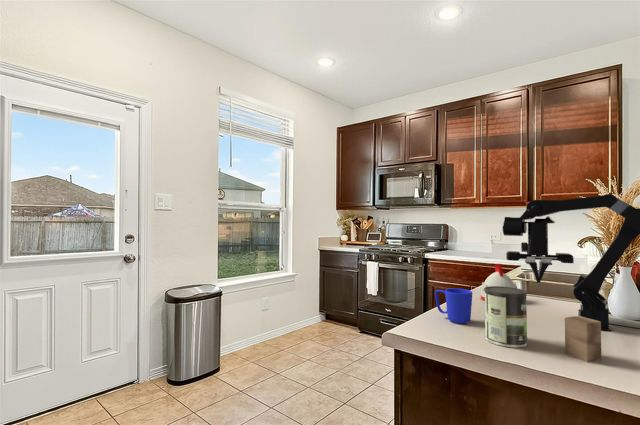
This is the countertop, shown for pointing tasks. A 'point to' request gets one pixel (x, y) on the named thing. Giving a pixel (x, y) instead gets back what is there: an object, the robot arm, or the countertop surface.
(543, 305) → the countertop surface
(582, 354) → the walnut block
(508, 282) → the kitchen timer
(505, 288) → the coffee can
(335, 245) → the countertop surface
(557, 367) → the countertop surface
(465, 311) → the mug
